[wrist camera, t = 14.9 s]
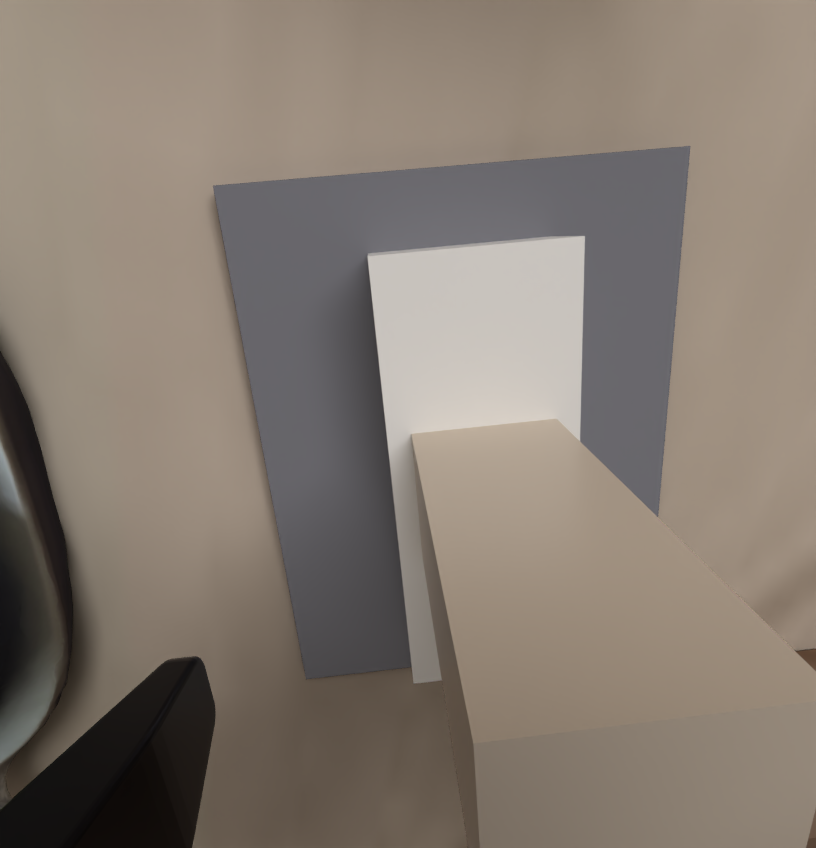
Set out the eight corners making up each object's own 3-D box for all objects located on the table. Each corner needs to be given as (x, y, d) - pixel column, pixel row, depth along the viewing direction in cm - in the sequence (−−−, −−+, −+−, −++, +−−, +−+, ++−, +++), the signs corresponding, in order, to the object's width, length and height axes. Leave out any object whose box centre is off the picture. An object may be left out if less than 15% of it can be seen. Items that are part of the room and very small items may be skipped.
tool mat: (679, 148, 12) (690, 146, 11) (640, 630, 16) (647, 640, 15) (218, 187, 11) (212, 186, 11) (307, 668, 16) (306, 679, 15)
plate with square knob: (550, 236, 12) (1038, 229, 3) (548, 610, 15) (781, 1100, 6) (368, 253, 11) (356, 295, 3) (408, 626, 15) (456, 1148, 6)
